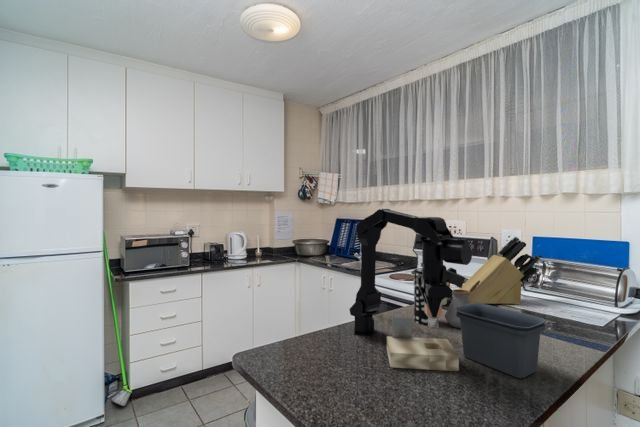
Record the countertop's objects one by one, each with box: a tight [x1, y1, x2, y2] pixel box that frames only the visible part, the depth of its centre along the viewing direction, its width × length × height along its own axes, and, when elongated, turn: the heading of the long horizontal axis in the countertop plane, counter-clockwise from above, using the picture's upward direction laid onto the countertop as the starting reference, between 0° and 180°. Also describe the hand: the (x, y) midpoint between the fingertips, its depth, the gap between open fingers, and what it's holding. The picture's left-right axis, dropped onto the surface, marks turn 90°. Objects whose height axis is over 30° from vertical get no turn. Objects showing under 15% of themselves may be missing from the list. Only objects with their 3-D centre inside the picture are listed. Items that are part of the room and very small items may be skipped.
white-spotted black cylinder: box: [413, 268, 428, 326], centre depth 127 cm, size 8×8×20 cm
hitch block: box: [386, 335, 460, 372], centre depth 94 cm, size 18×12×4 cm, turn 83°
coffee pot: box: [444, 281, 483, 329], centre depth 126 cm, size 21×12×15 cm, turn 129°
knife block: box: [458, 236, 541, 305], centre depth 156 cm, size 11×35×31 cm, turn 89°
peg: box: [424, 302, 443, 330], centre depth 94 cm, size 4×4×7 cm
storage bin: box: [455, 303, 548, 379], centre depth 92 cm, size 21×16×14 cm
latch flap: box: [391, 316, 413, 338], centre depth 100 cm, size 6×6×1 cm
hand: (432, 314), depth 94 cm, fingers closed on peg, 4 cm apart
